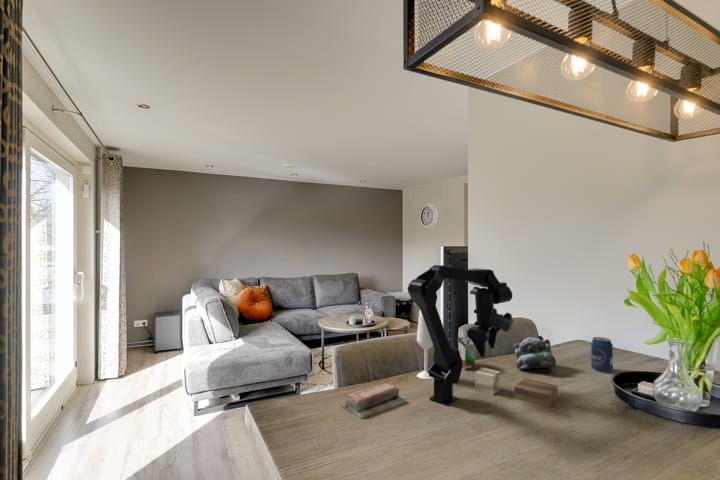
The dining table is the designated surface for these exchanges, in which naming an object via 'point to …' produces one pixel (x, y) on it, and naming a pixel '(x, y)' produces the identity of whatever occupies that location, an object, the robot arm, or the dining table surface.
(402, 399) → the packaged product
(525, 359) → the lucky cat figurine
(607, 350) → the soda can
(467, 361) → the food container
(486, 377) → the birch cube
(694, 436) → the dining table surface
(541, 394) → the walnut block
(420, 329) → the champagne flute
